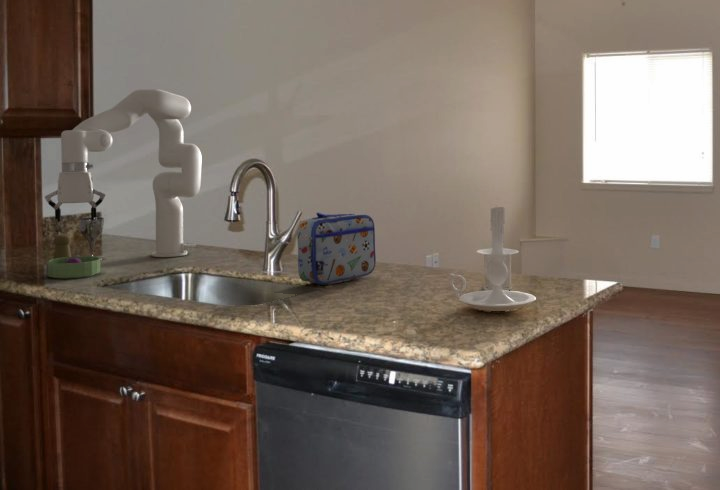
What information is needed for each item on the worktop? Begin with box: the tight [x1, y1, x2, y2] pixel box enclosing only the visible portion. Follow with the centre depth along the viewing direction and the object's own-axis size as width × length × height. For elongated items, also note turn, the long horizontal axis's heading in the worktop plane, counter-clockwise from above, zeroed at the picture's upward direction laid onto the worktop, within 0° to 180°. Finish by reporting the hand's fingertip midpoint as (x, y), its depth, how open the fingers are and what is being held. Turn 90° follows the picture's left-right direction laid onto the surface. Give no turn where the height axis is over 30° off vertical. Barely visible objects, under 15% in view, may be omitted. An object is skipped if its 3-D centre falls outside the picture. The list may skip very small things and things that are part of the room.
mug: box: [482, 247, 513, 291], centre depth 237 cm, size 12×8×12 cm
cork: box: [53, 234, 72, 259], centre depth 272 cm, size 6×6×11 cm
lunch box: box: [296, 212, 377, 286], centre depth 250 cm, size 28×10×22 cm, turn 144°
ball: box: [66, 258, 82, 263], centre depth 257 cm, size 5×5×5 cm
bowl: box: [46, 255, 102, 280], centre depth 257 cm, size 15×15×5 cm
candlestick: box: [448, 205, 537, 313], centre depth 212 cm, size 21×25×28 cm
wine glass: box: [78, 216, 105, 261], centre depth 288 cm, size 8×8×15 cm
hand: (76, 220), depth 258 cm, fingers open, 9 cm apart
